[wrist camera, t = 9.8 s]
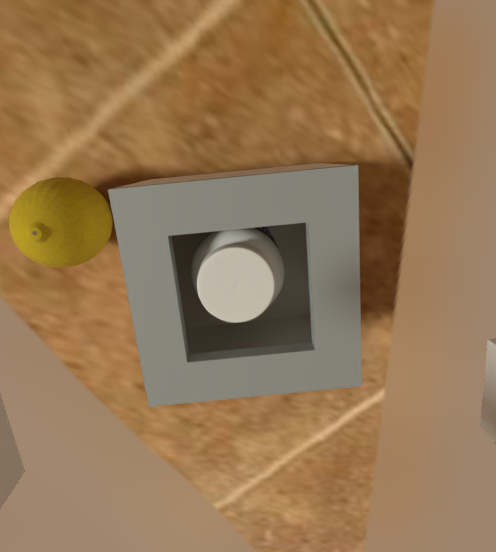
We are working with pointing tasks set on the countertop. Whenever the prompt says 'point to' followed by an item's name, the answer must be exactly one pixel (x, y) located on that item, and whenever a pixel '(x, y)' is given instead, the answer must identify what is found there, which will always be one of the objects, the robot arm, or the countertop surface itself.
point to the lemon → (60, 222)
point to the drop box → (278, 316)
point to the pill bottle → (237, 273)
